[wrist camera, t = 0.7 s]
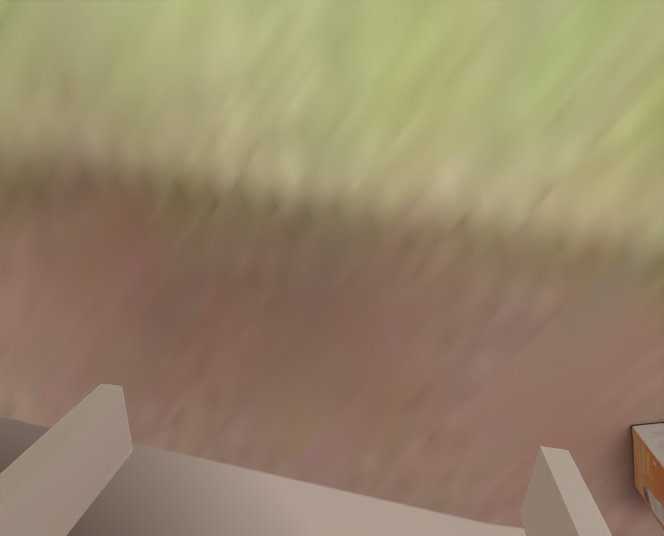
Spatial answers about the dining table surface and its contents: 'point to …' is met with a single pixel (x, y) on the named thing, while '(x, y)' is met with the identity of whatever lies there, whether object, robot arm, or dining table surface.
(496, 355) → the dining table surface
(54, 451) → the robot arm
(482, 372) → the dining table surface
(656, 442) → the small box
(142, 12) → the dining table surface
